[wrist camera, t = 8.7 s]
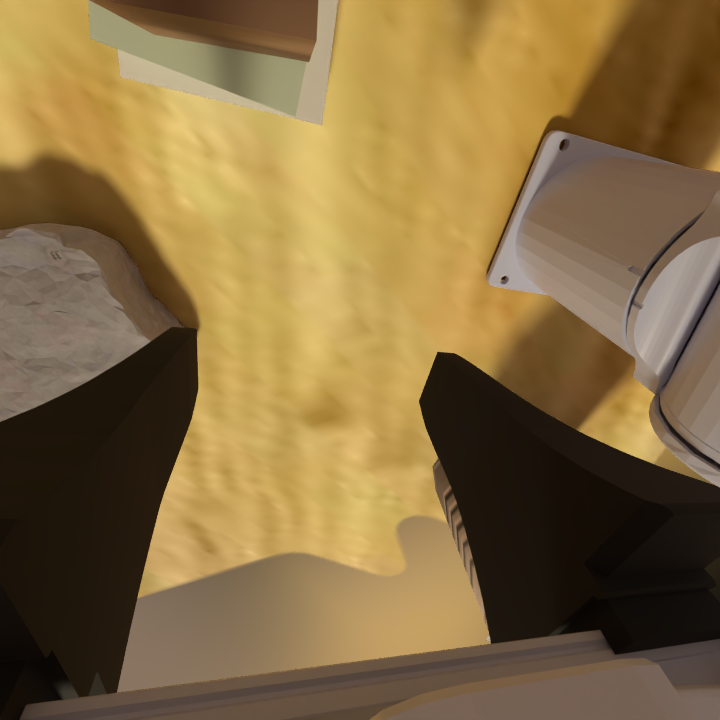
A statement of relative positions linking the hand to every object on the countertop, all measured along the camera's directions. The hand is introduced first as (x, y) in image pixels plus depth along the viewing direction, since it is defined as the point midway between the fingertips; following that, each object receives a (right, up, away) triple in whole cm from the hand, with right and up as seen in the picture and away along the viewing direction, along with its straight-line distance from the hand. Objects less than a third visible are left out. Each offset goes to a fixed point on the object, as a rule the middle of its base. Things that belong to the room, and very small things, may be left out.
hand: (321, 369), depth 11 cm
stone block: (-15, +3, +9) cm, 18 cm away
